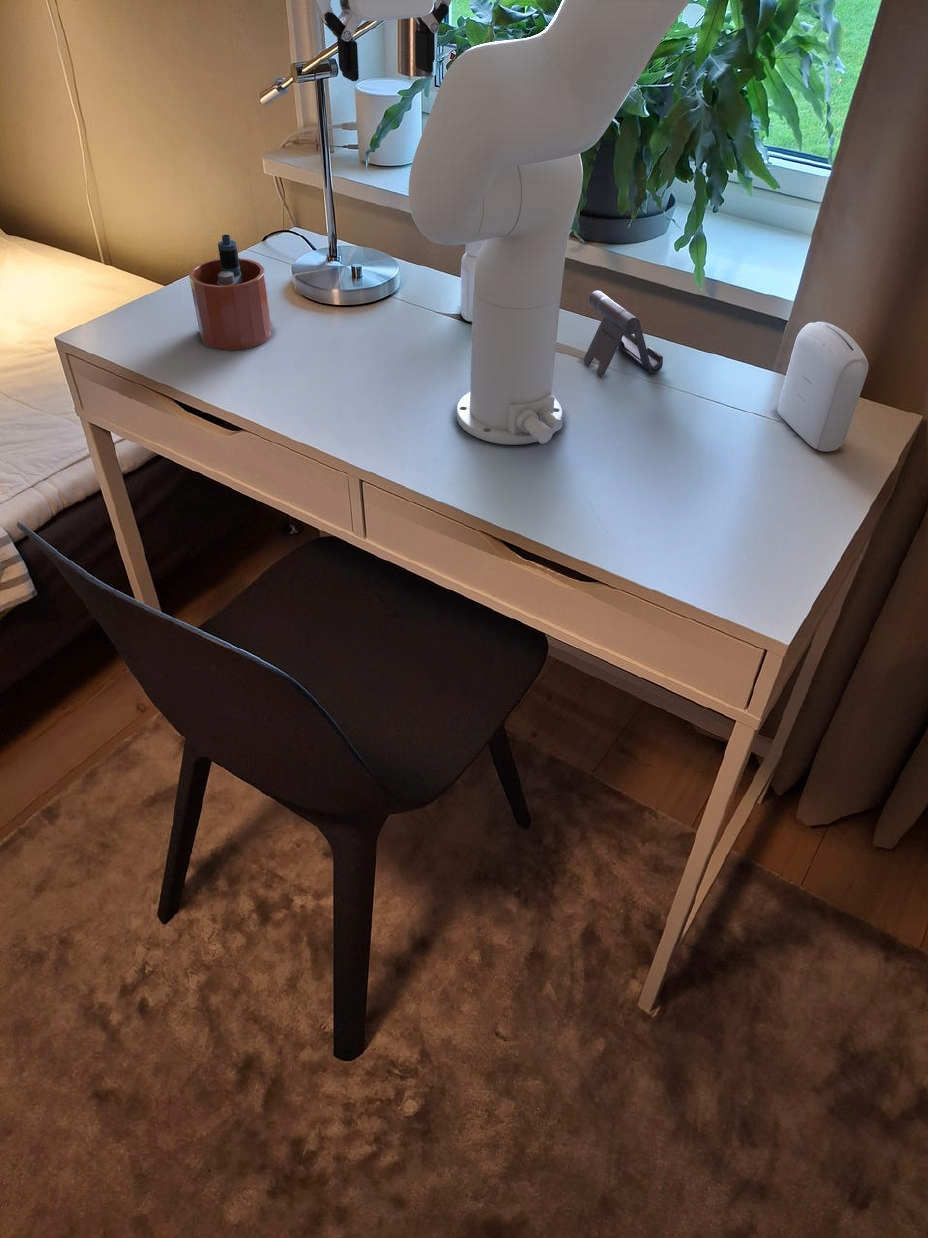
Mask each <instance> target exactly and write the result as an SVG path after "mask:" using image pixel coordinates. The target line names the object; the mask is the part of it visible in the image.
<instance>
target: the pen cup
mask: <svg viewBox="0 0 928 1238" xmlns="http://www.w3.org/2000/svg"><path fill="white" fill-rule="evenodd" d="M238 258H239V265H240V272H241V276H242V283H241V284H236V285H225V286H218V284H217V282H218V280H219V279H218V273H220V272H222V268H221V263H222V262H221V261H220V258H216V259H215V258H214V259H210V260H206V261H204V262H200V263H198V264H196V265H195V266H193V268H191V269H190V270H189V271H190V272H189V283H190V289H191V292H192V293H191V294H192V299H193V305H194V310H195V315H196V321H197V326H198V327H197V328H198V333H199V335H200V338H201V339H200V340H201V341H202V342H203V344H205V345H206V346H208V347H210V348H214V349H218V350H223V351H239V350H246V349H251V348H255V347H258V346H260V345H262V344H264V343H265V342H267V341H269V339H270V338H271V336H272V333H273V330H272V320H271V312H270V304H269V303H270V302H269V296H268V289H267V280H266V271H265V267H264V266H263V265H261V263H259V262H257V261H254V260H252V259H249V258H243V257H238Z"/></svg>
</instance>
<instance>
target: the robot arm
mask: <svg viewBox="0 0 928 1238" xmlns="http://www.w3.org/2000/svg"><path fill="white" fill-rule="evenodd" d="M338 1H339V6H340V9H341V12H340V14H339V16H337V15H336V13H334V11H333V8H332V6H331V2H332V0H312V2H313V4H314V7H315V8H316V10H317V12H318V14H319V16H320V19H321V21H322V23H323V24H324V25H325V26H326V27H327V28H328V29H329V30H330V32H331V33H332V35H333V36H334V37H335V38H336V40H337V42H336V43H337V54H338V55H337V58H338V69H339V71H340V72H341V74H342V77H344V78H346V79H347V80H349V81H350V82H357V81H358V80H359V78H360V75H359V73H360V71H359V54H358V53H359V51H358V42H357V41H356V40H354V35H355V34H356V32H357V30H358V28H359V26H360V25H361V23H362V21H364V22H380V21H382V22H383V21H394V20H404V19H405V20H406V19H414V20H415V22H416V23H417V24H418V28H415V31H414V50H415V51H414V52H415V54H414V55H415V59H414V60H415V61H414V62H415V67H416V68H417V69H418V70H420V71H423V72H425V73H427V74H430V73H431V74H432V73H433V71H434V63H435V59H436V34H437V33H438V32H439V30H440V25H441V24H442V22H443V21H444V20H445V18H446V17H447V15H448V13H449V6H450V5H451V3H452V1H453V0H436V1H435V0H338ZM691 1H692V0H561V2H560V5H559V7H558V9H557V11H556V13H555V14H554V16H553V18H552V20H551V21H550V23H549V24H548V26H547V27H546V28H545V29H544V30H543V31H541V32H540V33H537V34H535V35H532V36H530V37H529V36H528V37H526V38H525V37H524V38H518V39H508V40H499V41H492V42H486V43H482V44H479V45H476V46H472V47H470V48H469V49H467V50H465V51H464V52H462V53H461V54H460V55H459V56H457V57H456V58H455V60H453V62H452V63H451V64H450V66H449V67H448V68H447V70H446V71H445V74H444V75H443V78H442V80H441V83H440V85H439V88H438V90H437V93H436V96H435V98H434V101H433V104H432V106H431V109H430V112H429V114H428V117H427V119H426V122H425V125H424V127H423V131H422V133H421V136H420V138H419V141H418V144H417V147H416V150H415V153H414V155H413V159H412V162H411V167H410V170H409V179H408V188H407V189H408V192H407V193H408V204H409V210H410V213H411V217H412V220H413V222H414V224H415V227H416V228H417V229H418V231H419V232H420V233H421V235H423V236H424V237H425V238H426V239H427V240H429V241H431V242H432V243H434V244H437V245H441V246H460V245H466V244H467V243H472V242H477V241H482V240H484V243H483V245H482V247H481V250H480V252H479V255H478V258H477V261H476V265H475V271H474V284H473V311H472V321H471V348H470V349H471V351H470V385H469V387H470V390H469V392H467V393H465V395H463V396H462V397H461V398H460V399H459V401H458V402H457V405H456V420H457V422H458V425H460V427H461V428H462V429H463V430H464V432H467V433H468V434H469V435H471V436H473V437H474V438H477V439H480V440H482V441H485V442H488V443H492V444H498V445H499V444H500V445H506V446H507V445H508V446H510V445H511V446H513V445H515V446H517V445H528V444H533V443H537V442H538V443H540V444H543V445H544V444H546V443H548V442H550V440H551V439H552V437H553V435H554V434H555V433H556V432H559V431H560V430H561V429H562V428H563V426H564V422H563V412H564V411H563V408H562V406H561V404H560V403H559V401H558V400H557V399H556V396H555V395H554V394H552V392H553V382H554V381H553V380H554V372H555V361H556V352H557V351H556V350H557V342H558V341H557V339H558V330H559V329H558V328H559V321H560V319H559V318H560V309H561V299H562V298H561V297H562V290H563V281H564V280H563V278H564V271H565V261H566V255H567V249H568V243H569V238H570V234H571V230H572V227H573V223H574V220H575V216H576V214H577V210H578V206H579V202H580V199H581V194H582V189H583V178H584V177H583V176H584V171H583V170H584V169H583V162H582V158H581V153H584V152H587V150H589V149H591V148H592V147H594V146H595V145H596V144H597V143H598V142H599V141H600V139H601V138H602V136H603V135H604V134H605V133H606V131H607V129H608V128H609V126H610V125H611V123H612V122H613V120H614V119H615V117H616V115H617V114H618V112H619V110H620V108H621V107H622V106H623V104H624V102H625V101H626V99H627V97H628V96H629V94H630V92H631V91H632V89H633V88H634V86H635V85H636V83H637V81H638V80H639V78H640V77H641V75H642V74H643V72H644V70H645V69H646V67H647V65H648V63H649V61H650V59H651V58H652V56H653V54H654V53H655V51H656V50H657V48H658V47H659V45H660V43H661V42H662V40H663V39H664V37H665V36H666V35H667V33H668V32H669V30H670V29H671V28H672V26H673V25H674V24H675V22H676V21H677V19H678V18H679V17H680V16H681V14H682V13H683V11H684V10H685V9H686V8H687V6H688V5H689V4H690V2H691Z"/></svg>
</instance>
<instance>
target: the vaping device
mask: <svg viewBox="0 0 928 1238" xmlns="http://www.w3.org/2000/svg"><path fill="white" fill-rule="evenodd" d="M217 248H218V255H219V259H220V261H221V262H222V263H221V268H222V272H220V273H218V279H219V280H218V282H217V284H218V286H225V285H236V284H241V283H242V276H241V272H240V265H239V258H240V257H239V251H238V245H237V242H236V241H235V240H234V239H233V240H232V238H231V235H230V234H222V235H221V241H218V242H217Z"/></svg>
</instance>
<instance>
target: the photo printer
mask: <svg viewBox="0 0 928 1238" xmlns="http://www.w3.org/2000/svg"><path fill="white" fill-rule="evenodd" d="M868 372H869V362H868V359H867V357H866V355H865V353H864V351H863V349H862V348H861V347H860V346H859V344H858V343H857V341H855V340H854V339H853V337H852V336H850V335H849V334H848V333H847V332H845V330H843V329H841V328H840V327H838V326H836V325H834V324H832V323H829V322H825V321H815V322H808V323H807V324H805V325H804V326H803V327H802V328H801V329H800V330H799V332H798V334H797V336H796V338H795V342H794V345H793V349H792V352H791V356H790V359H789V363H788V366H787V370H786V374H785V377H784V381H783V385H782V389H781V392H780V396H779V400H778V404H777V413H778V415H779V416H780V417H781V418H782V419H783V420H784V422H785V423H787V425H788V426H789V427H790V428H791V429H792V430H793V431H795V433H796V434H797V435H798V436H799V437H800V438H801V439H802V440H804V441H805V442H806V443H807V444H808V445H809V446H810V447H811V448H813V449H814V450H817V451H819V452H835V451H837V450H838V449H839V448H840V447H841V446H843V445H844V443H845V441H846V438H847V436H848V432H849V430H850V427H851V424H852V420H853V417H854V414H855V412H856V407H857V405H858V402H859V399H860V396H861V393H862V390H863V387H864V384H865V381H866V379H867V375H868Z"/></svg>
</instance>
